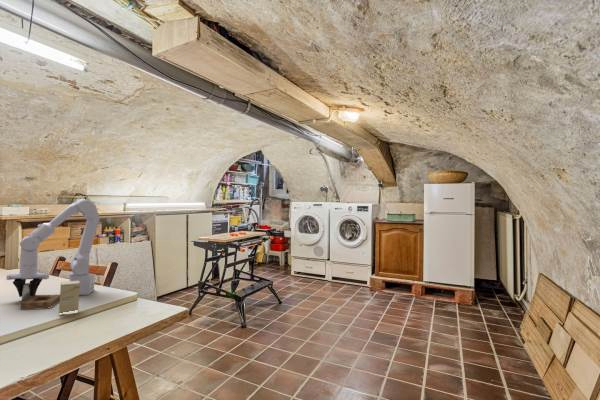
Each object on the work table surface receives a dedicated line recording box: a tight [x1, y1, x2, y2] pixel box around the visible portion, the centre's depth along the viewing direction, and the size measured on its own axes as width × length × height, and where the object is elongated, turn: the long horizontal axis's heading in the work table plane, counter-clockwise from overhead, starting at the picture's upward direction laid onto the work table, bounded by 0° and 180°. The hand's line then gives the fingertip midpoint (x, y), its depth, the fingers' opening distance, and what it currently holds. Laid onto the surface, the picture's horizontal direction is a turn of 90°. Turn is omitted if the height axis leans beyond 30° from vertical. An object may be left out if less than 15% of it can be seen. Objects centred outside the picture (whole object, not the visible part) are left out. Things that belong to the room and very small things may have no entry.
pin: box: [21, 282, 31, 303], centre depth 137 cm, size 4×4×7 cm
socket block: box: [20, 294, 60, 310], centre depth 134 cm, size 10×10×2 cm
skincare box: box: [58, 280, 80, 314], centre depth 127 cm, size 6×4×12 cm
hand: (27, 296), depth 137 cm, fingers closed on pin, 4 cm apart
